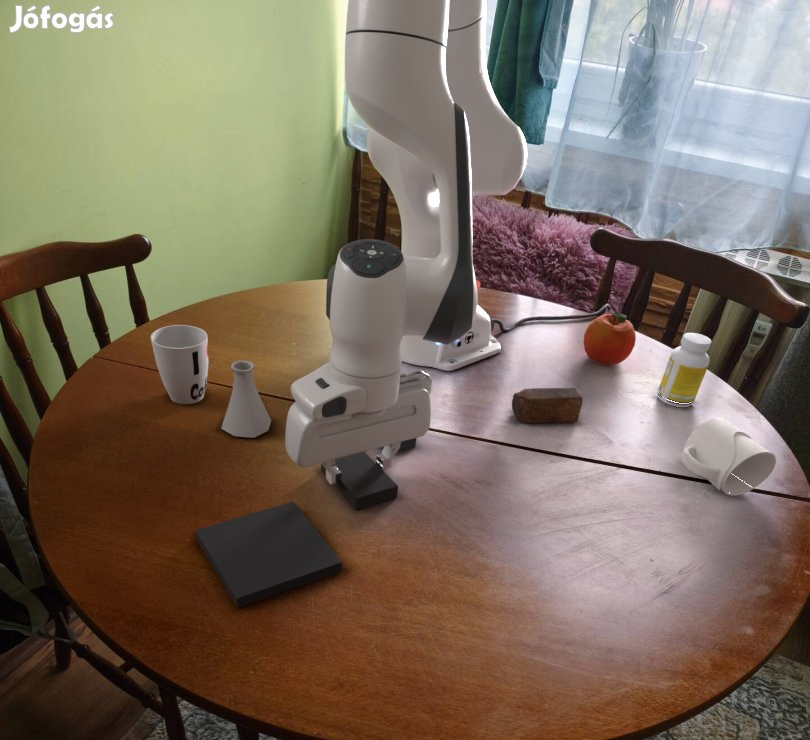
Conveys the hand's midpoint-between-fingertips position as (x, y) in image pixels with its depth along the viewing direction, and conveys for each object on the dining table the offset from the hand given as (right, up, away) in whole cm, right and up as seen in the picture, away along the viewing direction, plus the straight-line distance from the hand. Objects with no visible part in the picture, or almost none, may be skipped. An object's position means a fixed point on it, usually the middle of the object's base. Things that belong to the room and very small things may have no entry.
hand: (358, 474), depth 95 cm
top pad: (+3, +7, +11) cm, 14 cm away
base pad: (-10, -11, -12) cm, 19 cm away
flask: (-18, +8, +10) cm, 22 cm away
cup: (-28, +14, +15) cm, 35 cm away
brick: (+29, +11, +20) cm, 37 cm away
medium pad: (0, -1, +1) cm, 2 cm away
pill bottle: (+55, +16, +29) cm, 64 cm away
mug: (+53, 0, +10) cm, 54 cm away
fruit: (+45, +26, +39) cm, 65 cm away
